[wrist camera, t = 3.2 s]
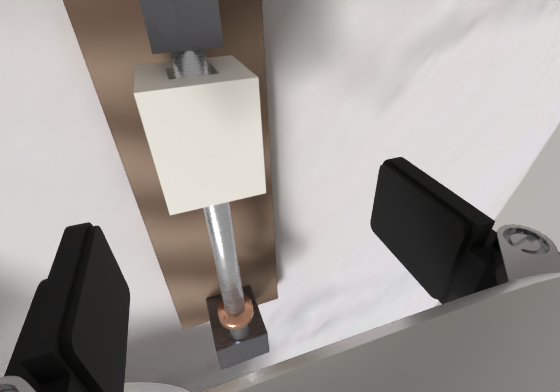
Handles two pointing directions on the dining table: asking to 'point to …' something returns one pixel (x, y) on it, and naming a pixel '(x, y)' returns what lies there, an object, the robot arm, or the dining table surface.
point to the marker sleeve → (203, 132)
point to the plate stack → (151, 387)
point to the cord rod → (234, 298)
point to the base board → (140, 165)
